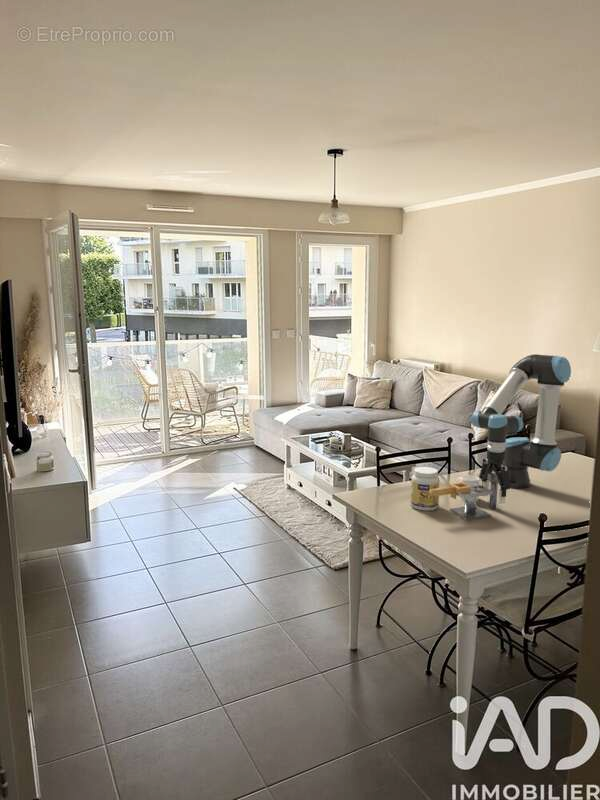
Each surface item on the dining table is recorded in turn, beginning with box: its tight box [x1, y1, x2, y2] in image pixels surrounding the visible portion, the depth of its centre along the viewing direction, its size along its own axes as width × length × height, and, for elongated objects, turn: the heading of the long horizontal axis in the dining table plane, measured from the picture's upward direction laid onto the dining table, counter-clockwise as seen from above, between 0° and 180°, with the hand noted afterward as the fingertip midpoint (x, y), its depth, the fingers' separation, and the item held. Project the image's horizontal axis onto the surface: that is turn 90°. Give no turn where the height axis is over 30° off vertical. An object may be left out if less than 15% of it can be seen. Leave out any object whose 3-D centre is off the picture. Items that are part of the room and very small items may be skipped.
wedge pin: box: [487, 472, 499, 511], centre depth 258 cm, size 6×3×16 cm, turn 112°
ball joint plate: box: [445, 482, 493, 522], centre depth 253 cm, size 15×12×12 cm
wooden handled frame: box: [429, 481, 471, 500], centre depth 248 cm, size 17×6×5 cm, turn 112°
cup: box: [455, 474, 481, 502], centre depth 273 cm, size 8×12×10 cm
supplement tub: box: [410, 466, 440, 512], centre depth 261 cm, size 12×12×17 cm
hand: (493, 499), depth 259 cm, fingers open, 10 cm apart
